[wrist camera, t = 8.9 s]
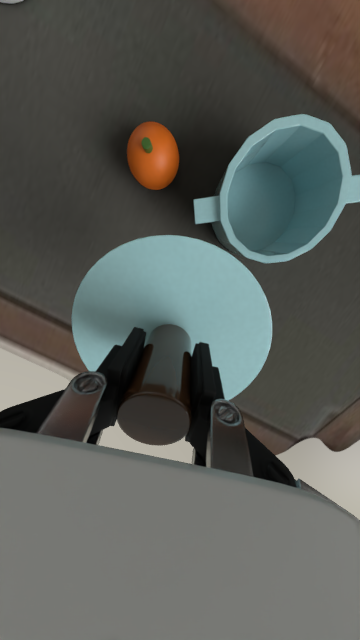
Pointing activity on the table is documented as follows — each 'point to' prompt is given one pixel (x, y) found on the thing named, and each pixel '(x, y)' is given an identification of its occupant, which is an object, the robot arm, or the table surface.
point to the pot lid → (171, 326)
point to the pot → (281, 190)
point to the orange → (153, 155)
